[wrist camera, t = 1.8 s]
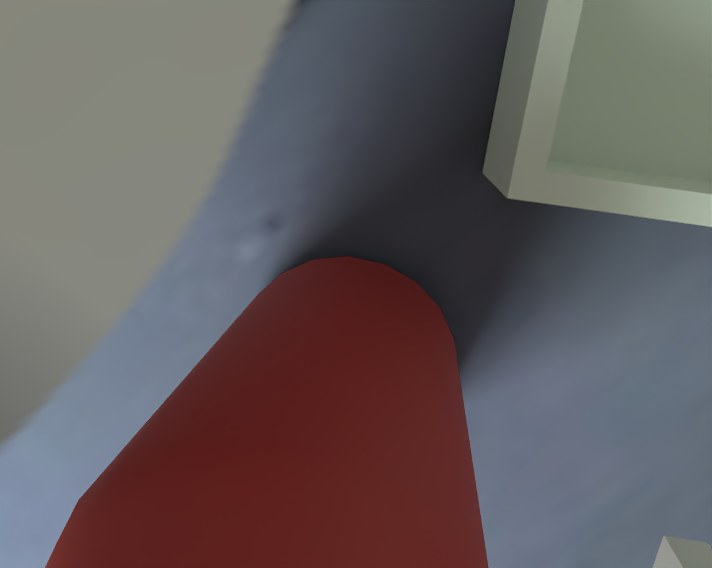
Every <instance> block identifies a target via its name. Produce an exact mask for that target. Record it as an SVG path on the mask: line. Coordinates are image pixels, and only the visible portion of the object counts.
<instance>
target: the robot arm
mask: <svg viewBox="0 0 712 568" xmlns="http://www.w3.org/2000/svg"><path fill="white" fill-rule="evenodd" d="M653 568H712V548H711V546H710V545H709V544H708V543H704V542H698V541H693V540H687V539H681V538H675V537H669V536H664V537H663V539H662V542H661V545H660V548H659V551H658V554H657V557H656V559H655V562H654V565H653Z"/></svg>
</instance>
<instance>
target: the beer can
mask: <svg viewBox="0 0 712 568" xmlns="http://www.w3.org/2000/svg"><path fill="white" fill-rule="evenodd" d="M45 568H488V562H487V555H486V549H485V542H484V535H483V529H482V522H481V515H480V509H479V502H478V495H477V489H476V482H475V475H474V469H473V462H472V455H471V449H470V442H469V435H468V429H467V422H466V415H465V409H464V402H463V395H462V389H461V382H460V375H459V369H458V362H457V355H456V349H455V342H454V338H453V336H452V333H451V331H450V329H449V327H448V324H447V322H446V320H445V318H444V315H443V313H442V311H441V309H440V307H439V306H438V305H437V304H436V303H435V302H434V301H433V300H432V299H431V298H430V296H429V295H428V294H427V293H426V292H425V291H424V290H423V289H422V288H421V287H420V286H419V285H418V283H417V282H415V281H413V280H412V279H410V278H408V277H406V276H405V275H403V274H401V273H399V272H398V271H396V270H394V269H392V268H391V267H389V266H387V265H385V264H382V263H377V262H373V261H368V260H364V259H359V258H354V257H350V256H346V257H336V258H325V259H314V260H311V261H309V262H306V263H304V264H302V265H299V266H297V267H295V268H292V269H290V270H288V271H286V272H283V273H281V274H280V275H279V276H278V277H277V278H276V279H275V280H274V281H272V282H271V283H270V284H269V285H268V286H267V287H266V288H265V289H264V290H263V291H262V292H260V293H259V294H258V295H257V296H256V297H255V299H254V300H253V301H252V302H251V303H250V304H249V305H248V307H247V308H246V309H245V310H244V311H243V312H242V313H241V315H240V316H239V317H238V318H237V319H236V320H235V321H234V323H233V324H232V325H231V326H230V327H229V328H228V329H227V331H226V332H225V333H224V334H223V335H222V336H221V337H220V339H219V340H218V341H217V342H216V343H215V344H214V345H213V347H212V348H211V349H210V350H209V351H208V352H207V354H206V355H205V356H204V357H203V358H202V359H201V360H200V362H199V363H198V364H197V365H196V366H195V367H194V368H193V370H192V371H191V372H190V373H189V374H188V375H187V376H186V378H185V379H184V380H183V381H182V382H181V383H180V384H179V386H178V387H177V388H176V389H175V390H174V391H173V392H172V394H171V395H170V396H169V397H168V398H167V399H166V400H165V402H164V403H163V404H162V405H161V406H160V407H159V409H158V410H157V411H156V412H155V413H154V414H153V415H152V417H151V418H150V419H149V420H148V421H147V422H146V423H145V425H144V426H143V427H142V428H141V429H140V430H139V431H138V433H137V434H136V435H135V436H134V437H133V438H132V439H131V441H130V442H129V443H128V444H127V445H126V446H125V447H124V449H123V450H122V451H121V452H120V453H119V454H118V455H117V457H116V458H115V459H114V460H113V461H112V462H111V464H110V465H109V466H108V467H107V468H106V469H105V470H104V472H103V473H102V474H101V475H100V476H99V477H98V478H97V480H96V481H95V482H94V483H93V484H92V485H91V486H90V488H89V489H88V490H87V491H86V492H85V493H84V494H83V496H82V497H81V498H80V499H79V500H78V502H77V504H76V506H75V508H74V510H73V512H72V514H71V516H70V518H69V520H68V522H67V524H66V526H65V528H64V530H63V532H62V534H61V536H60V538H59V540H58V542H57V544H56V546H55V548H54V550H53V552H52V554H51V556H50V559H49V561H48V563H47V565H46V567H45Z"/></svg>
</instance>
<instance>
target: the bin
mask: <svg viewBox="0 0 712 568" xmlns="http://www.w3.org/2000/svg"><path fill="white" fill-rule="evenodd" d="M482 173H483V174H484V175H485V176H486V177H487V178H488V179H489V180H490V181H491V182H492V183H493V184H494V185H495V186H496V187H497V189H498V190H499V191H500V192H501V193H502V194H503V195H504V196H505V197H506V198H509V199H516V200H523V201H530V202H537V203H544V204H552V205H559V206H566V207H573V208H580V209H587V210H594V211H602V212H609V213H616V214H623V215H630V216H637V217H644V218H652V219H659V220H666V221H673V222H680V223H687V224H694V225H702V226H709V227H712V0H515V5H514V10H513V15H512V20H511V26H510V31H509V36H508V41H507V46H506V52H505V57H504V62H503V67H502V73H501V78H500V83H499V88H498V93H497V99H496V104H495V109H494V114H493V119H492V125H491V130H490V135H489V140H488V145H487V151H486V156H485V161H484V166H483V172H482Z"/></svg>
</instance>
